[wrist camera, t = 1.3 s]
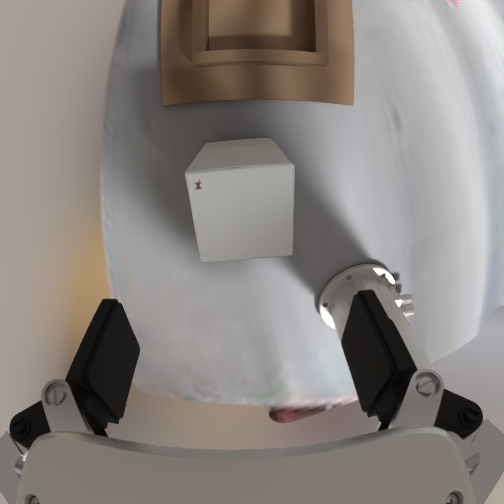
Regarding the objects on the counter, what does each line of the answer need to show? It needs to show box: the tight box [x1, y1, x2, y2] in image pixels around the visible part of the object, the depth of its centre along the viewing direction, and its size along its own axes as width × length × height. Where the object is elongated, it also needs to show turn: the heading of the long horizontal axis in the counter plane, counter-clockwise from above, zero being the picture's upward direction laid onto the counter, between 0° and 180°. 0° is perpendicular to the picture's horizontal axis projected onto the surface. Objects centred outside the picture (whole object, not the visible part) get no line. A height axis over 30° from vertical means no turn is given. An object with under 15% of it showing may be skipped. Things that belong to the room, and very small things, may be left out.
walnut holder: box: [161, 0, 354, 106], centre depth 19 cm, size 20×20×4 cm
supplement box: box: [184, 138, 295, 262], centre depth 24 cm, size 7×7×13 cm
